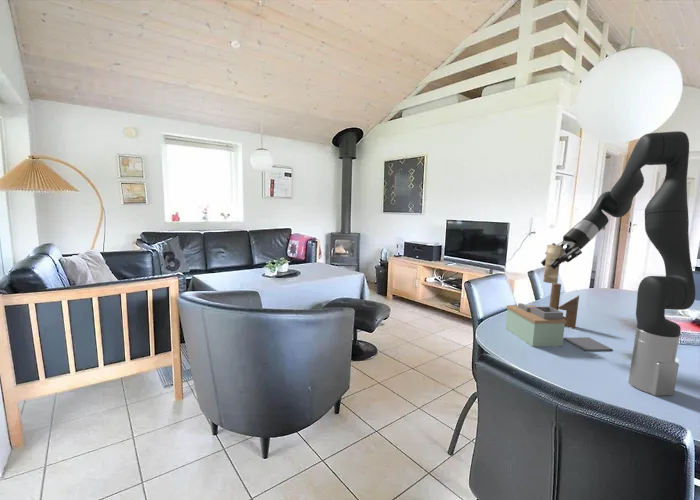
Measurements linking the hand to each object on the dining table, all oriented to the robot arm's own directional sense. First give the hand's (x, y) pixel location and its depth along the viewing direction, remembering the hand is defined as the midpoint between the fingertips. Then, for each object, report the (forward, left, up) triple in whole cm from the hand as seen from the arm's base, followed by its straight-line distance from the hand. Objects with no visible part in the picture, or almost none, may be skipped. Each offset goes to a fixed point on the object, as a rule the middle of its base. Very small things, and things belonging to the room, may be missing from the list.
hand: (547, 265), depth 128 cm
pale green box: (+4, 0, -30) cm, 30 cm away
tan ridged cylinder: (0, -2, -6) cm, 7 cm away
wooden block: (+18, -23, -30) cm, 42 cm away
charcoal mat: (-4, -17, -30) cm, 35 cm away
